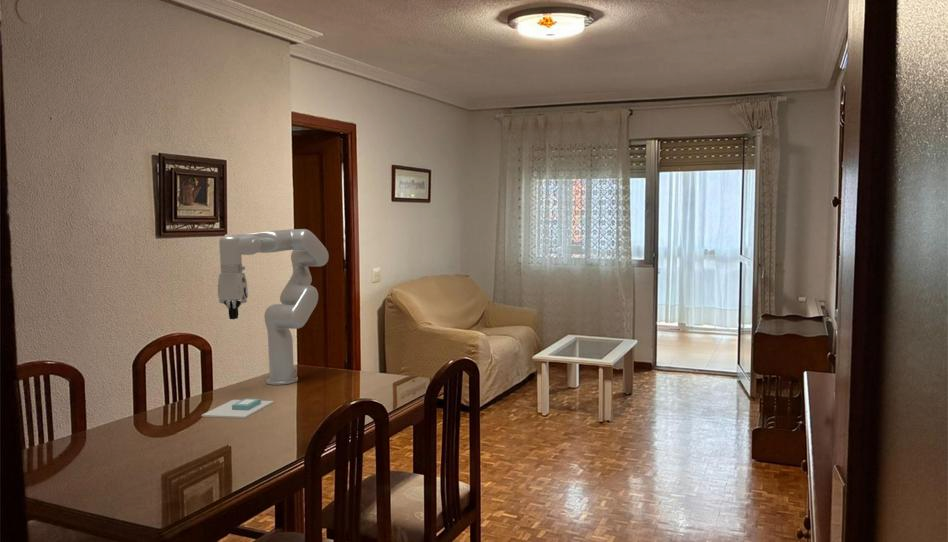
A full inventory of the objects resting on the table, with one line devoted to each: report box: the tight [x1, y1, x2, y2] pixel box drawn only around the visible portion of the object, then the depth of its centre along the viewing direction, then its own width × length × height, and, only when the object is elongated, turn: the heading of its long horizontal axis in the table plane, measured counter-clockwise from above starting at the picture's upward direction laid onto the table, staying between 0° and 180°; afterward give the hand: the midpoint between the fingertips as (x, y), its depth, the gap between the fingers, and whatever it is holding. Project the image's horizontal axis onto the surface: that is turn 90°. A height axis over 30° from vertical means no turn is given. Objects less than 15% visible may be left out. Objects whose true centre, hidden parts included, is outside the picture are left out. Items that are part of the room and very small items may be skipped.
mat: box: [201, 399, 275, 419], centre depth 245 cm, size 20×16×1 cm
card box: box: [232, 398, 262, 410], centre depth 246 cm, size 9×2×6 cm
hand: (233, 318), depth 263 cm, fingers closed
